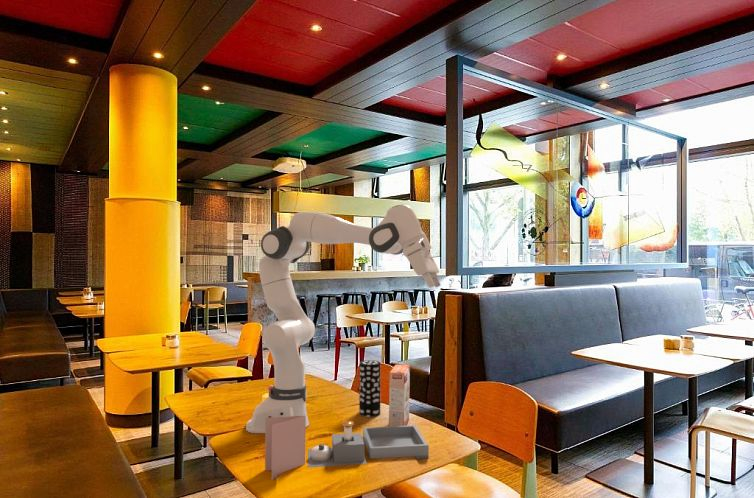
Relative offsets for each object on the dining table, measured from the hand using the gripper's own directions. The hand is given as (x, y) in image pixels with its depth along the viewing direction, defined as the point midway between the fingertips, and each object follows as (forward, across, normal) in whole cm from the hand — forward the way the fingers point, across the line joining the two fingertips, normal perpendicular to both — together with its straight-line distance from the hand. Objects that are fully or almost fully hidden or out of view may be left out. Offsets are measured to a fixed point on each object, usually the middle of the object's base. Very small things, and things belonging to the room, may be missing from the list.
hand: (435, 286), depth 156 cm
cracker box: (+39, -19, -38) cm, 57 cm away
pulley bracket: (+35, +17, -47) cm, 61 cm away
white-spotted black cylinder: (+32, -28, -51) cm, 66 cm away
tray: (+41, +3, -34) cm, 54 cm away
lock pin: (+36, +15, -44) cm, 59 cm away
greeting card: (+32, +30, -57) cm, 71 cm away
